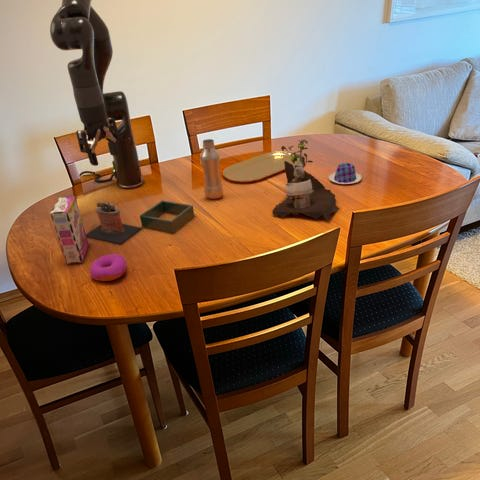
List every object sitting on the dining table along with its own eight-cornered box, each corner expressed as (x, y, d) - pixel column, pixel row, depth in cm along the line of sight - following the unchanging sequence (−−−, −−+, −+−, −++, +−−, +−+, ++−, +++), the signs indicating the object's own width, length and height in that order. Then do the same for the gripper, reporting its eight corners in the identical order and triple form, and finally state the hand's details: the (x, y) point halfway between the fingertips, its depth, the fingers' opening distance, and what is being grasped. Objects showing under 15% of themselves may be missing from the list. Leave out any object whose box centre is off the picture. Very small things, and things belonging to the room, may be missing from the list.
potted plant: (272, 225, 151) (262, 145, 142) (287, 214, 167) (279, 141, 158) (333, 220, 143) (326, 135, 134) (342, 209, 160) (337, 132, 150)
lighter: (126, 230, 150) (119, 201, 143) (121, 235, 147) (113, 206, 141) (105, 227, 152) (97, 199, 146) (99, 232, 149) (91, 204, 143)
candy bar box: (83, 263, 136) (67, 211, 126) (66, 264, 136) (48, 213, 125) (90, 244, 145) (75, 195, 134) (74, 246, 144) (58, 196, 134)
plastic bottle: (221, 201, 163) (215, 144, 150) (203, 200, 164) (195, 144, 152) (225, 193, 168) (220, 137, 155) (207, 193, 169) (201, 137, 157)
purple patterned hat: (351, 171, 176) (352, 157, 173) (367, 182, 167) (369, 167, 164) (323, 176, 174) (323, 163, 171) (338, 188, 165) (339, 174, 162)
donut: (102, 263, 135) (98, 250, 132) (134, 265, 133) (131, 251, 130) (86, 283, 127) (82, 269, 124) (121, 285, 125) (117, 271, 122)
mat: (84, 236, 149) (84, 235, 149) (106, 221, 156) (106, 220, 156) (120, 244, 143) (120, 243, 143) (141, 228, 150) (141, 227, 150)
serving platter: (310, 162, 186) (310, 158, 185) (242, 188, 170) (242, 184, 169) (279, 152, 198) (279, 148, 197) (213, 175, 182) (213, 171, 181)
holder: (142, 226, 152) (139, 215, 149) (164, 210, 160) (162, 200, 158) (173, 233, 147) (171, 221, 144) (194, 216, 155) (192, 205, 152)
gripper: (97, 95, 134) (110, 150, 145) (61, 108, 125) (78, 167, 135) (117, 96, 131) (129, 153, 142) (82, 110, 122) (98, 170, 132)
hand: (104, 160), depth 138 cm, fingers open, 8 cm apart
